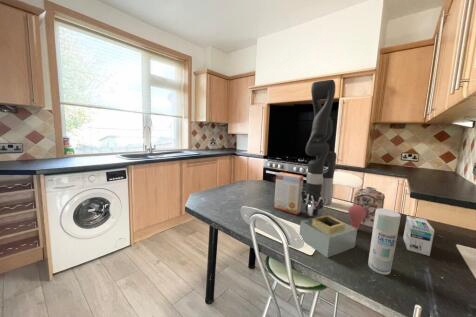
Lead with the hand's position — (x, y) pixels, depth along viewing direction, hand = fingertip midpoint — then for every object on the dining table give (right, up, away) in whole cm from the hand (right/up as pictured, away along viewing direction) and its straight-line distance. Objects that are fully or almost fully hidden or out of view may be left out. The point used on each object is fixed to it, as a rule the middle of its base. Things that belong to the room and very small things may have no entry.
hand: (311, 213), depth 100 cm
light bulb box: (+35, -8, -21) cm, 41 cm away
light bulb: (+17, -5, -8) cm, 20 cm away
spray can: (+10, -9, -34) cm, 37 cm away
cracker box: (-10, -1, +11) cm, 15 cm away
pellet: (0, 0, 0) cm, 0 cm away
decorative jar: (+28, -4, +1) cm, 29 cm away
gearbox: (-1, -6, -20) cm, 21 cm away
